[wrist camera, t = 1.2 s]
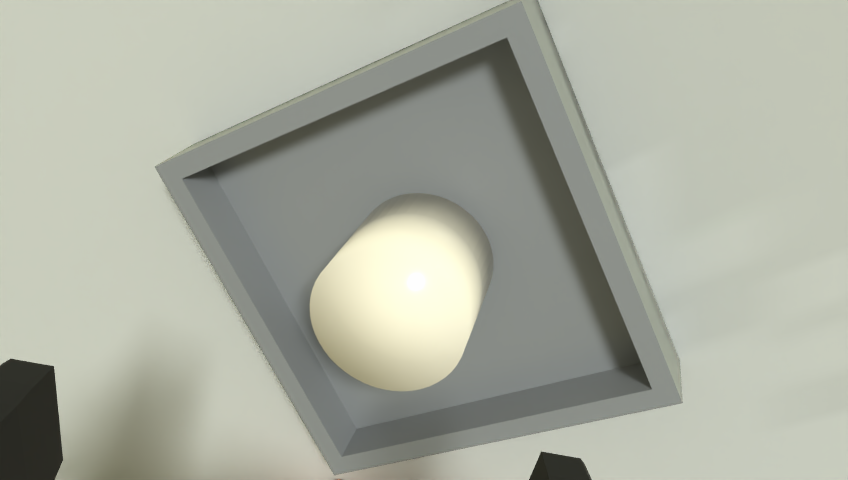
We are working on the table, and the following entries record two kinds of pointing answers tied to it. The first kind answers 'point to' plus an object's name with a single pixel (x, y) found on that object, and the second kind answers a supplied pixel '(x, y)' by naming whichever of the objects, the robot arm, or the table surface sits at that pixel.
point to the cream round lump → (403, 293)
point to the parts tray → (470, 189)
